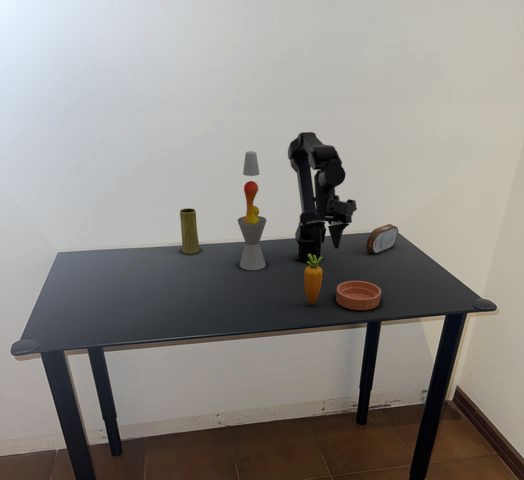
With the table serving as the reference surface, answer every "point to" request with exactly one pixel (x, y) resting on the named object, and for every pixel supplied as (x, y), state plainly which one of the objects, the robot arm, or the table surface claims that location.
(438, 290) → the table surface
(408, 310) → the table surface
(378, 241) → the tin
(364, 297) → the bowl
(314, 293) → the carrot
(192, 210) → the vase
